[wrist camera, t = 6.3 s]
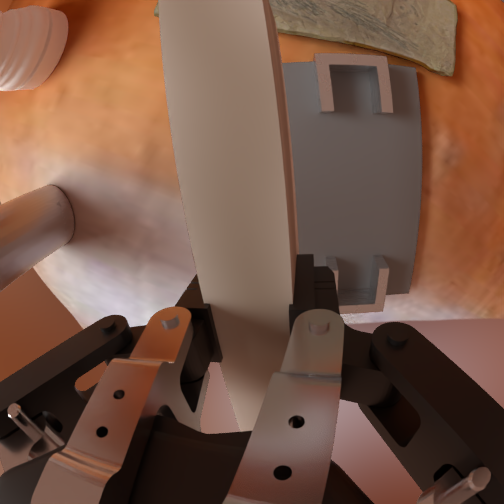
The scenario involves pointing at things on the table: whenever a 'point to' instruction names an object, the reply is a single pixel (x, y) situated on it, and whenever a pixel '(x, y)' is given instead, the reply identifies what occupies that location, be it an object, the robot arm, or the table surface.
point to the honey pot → (30, 46)
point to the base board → (357, 173)
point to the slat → (235, 180)
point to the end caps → (381, 104)
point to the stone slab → (377, 26)
